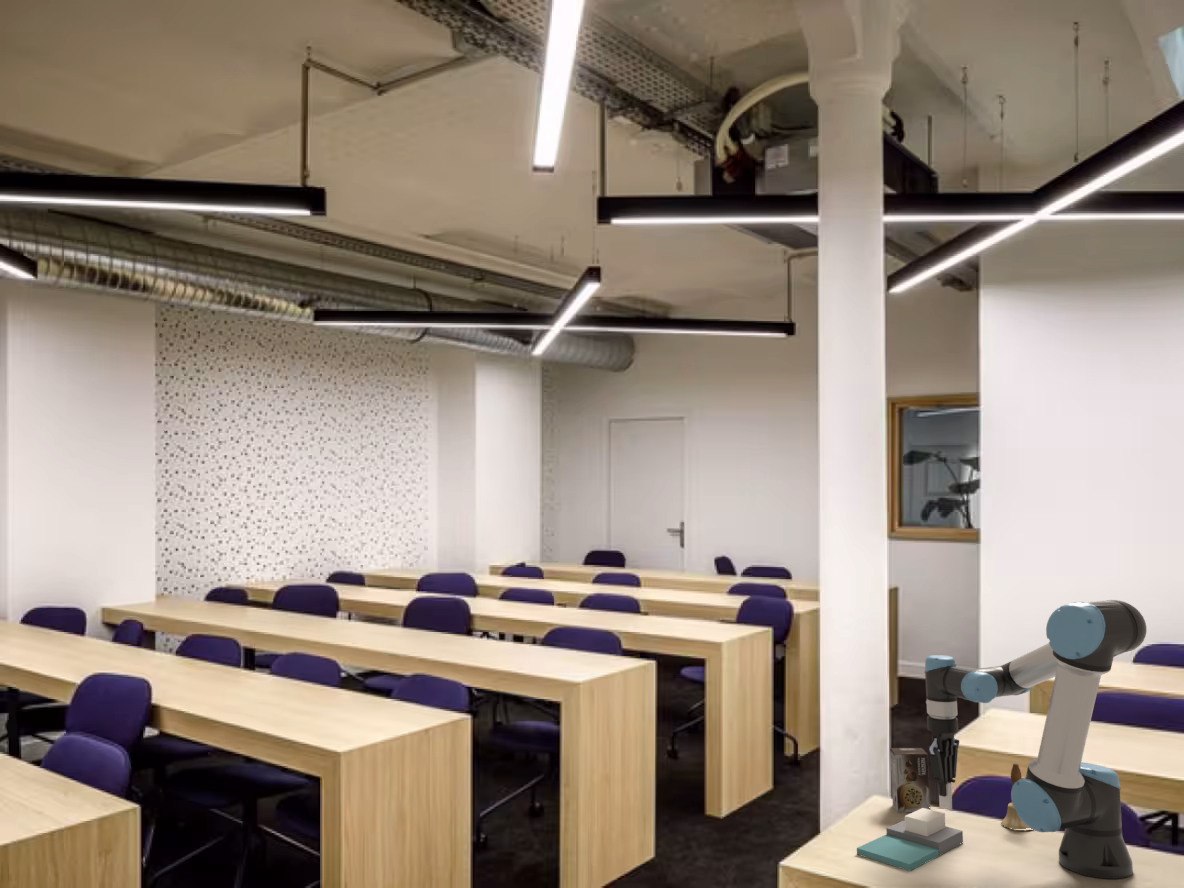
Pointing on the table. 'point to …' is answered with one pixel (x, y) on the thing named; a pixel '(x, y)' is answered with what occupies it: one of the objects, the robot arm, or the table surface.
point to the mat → (898, 852)
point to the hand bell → (1012, 817)
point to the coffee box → (910, 779)
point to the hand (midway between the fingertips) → (945, 807)
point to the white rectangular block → (925, 822)
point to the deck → (929, 837)
